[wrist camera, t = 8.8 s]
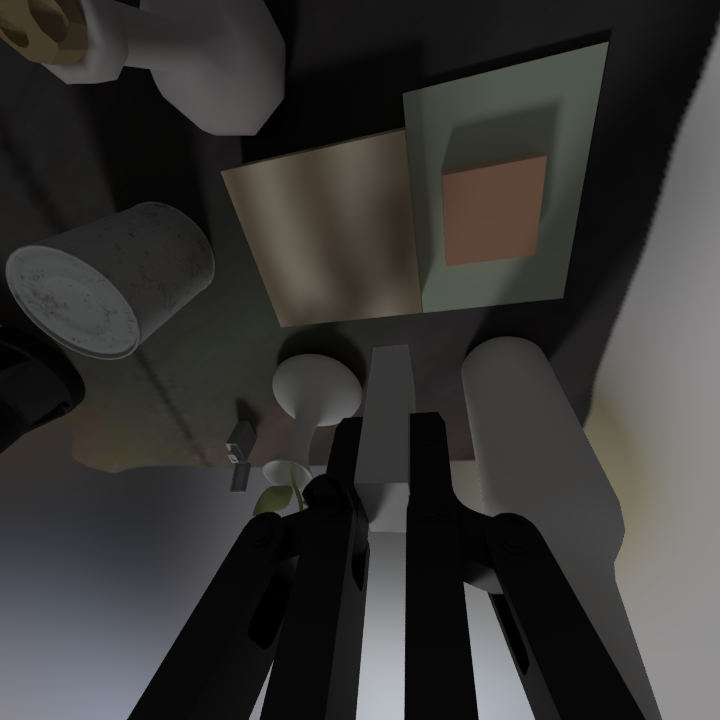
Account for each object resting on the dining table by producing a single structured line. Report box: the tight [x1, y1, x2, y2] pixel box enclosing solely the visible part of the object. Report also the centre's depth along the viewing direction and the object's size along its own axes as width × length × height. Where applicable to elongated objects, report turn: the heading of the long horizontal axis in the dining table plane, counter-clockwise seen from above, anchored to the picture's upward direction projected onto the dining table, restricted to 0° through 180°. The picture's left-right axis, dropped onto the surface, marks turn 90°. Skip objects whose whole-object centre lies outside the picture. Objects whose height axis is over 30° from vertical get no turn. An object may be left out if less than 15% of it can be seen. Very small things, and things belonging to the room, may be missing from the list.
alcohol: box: [461, 336, 662, 720], centre depth 26 cm, size 9×9×30 cm
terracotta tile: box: [441, 152, 547, 266], centre depth 27 cm, size 7×7×2 cm
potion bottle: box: [0, 0, 286, 135], centre depth 17 cm, size 9×9×18 cm
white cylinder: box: [6, 202, 215, 360], centre depth 30 cm, size 10×10×12 cm
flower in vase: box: [253, 354, 362, 516], centre depth 33 cm, size 13×11×25 cm
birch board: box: [221, 127, 422, 327], centre depth 29 cm, size 14×14×4 cm
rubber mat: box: [403, 42, 609, 313], centre depth 28 cm, size 13×18×1 cm
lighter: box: [226, 421, 257, 493], centre depth 49 cm, size 7×2×8 cm, turn 10°
